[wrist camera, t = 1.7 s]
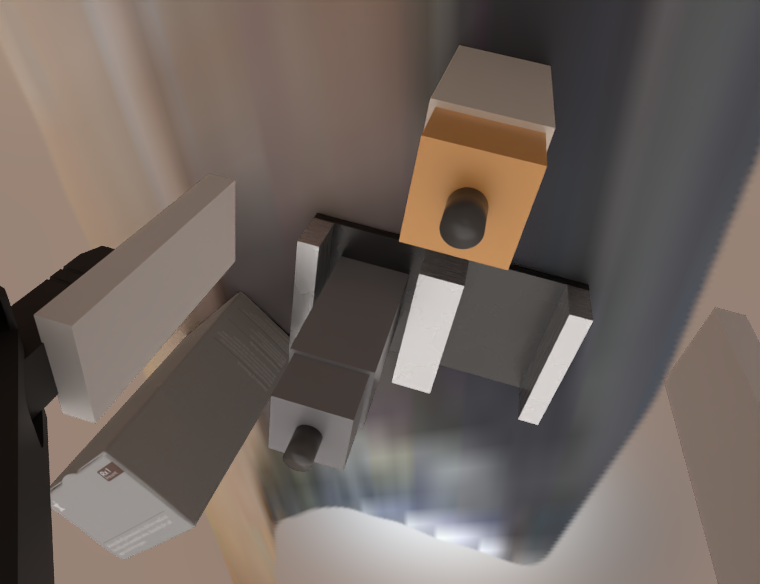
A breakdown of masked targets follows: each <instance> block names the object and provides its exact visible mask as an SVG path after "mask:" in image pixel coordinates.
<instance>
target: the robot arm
mask: <svg viewBox="0 0 760 584" xmlns="http://www.w3.org/2000/svg"><path fill="white" fill-rule="evenodd" d="M234 262H235V180H232V179H229V178H225V177H221V176H217V175H213V174H210V173H209V174H208V175H207V176H206V177H204V178H203V179H202V180H201V181H199V182H198V183H197V184H196V185H194V186H193V187H192V188H191V189H189V190H188V191H187V192H186V193H184V194H183V195H182V196H181V197H180V198H178V199H177V200H176V201H175V202H173V203H172V204H171V205H170V206H168V207H167V208H166V209H165V210H163V211H162V212H161V213H160V214H158V215H157V216H156V217H155V218H153V219H152V220H151V221H150V222H148V223H147V224H146V225H145V226H143V227H142V228H141V229H140V230H138V231H137V232H136V233H135V234H133V235H132V236H131V237H130V238H128V239H127V240H126V241H125V242H123V243H122V244H121V245H120V246H119V247H117V248H116V249H112V248H109V247H105V246H100V247H98V248H95V249H93V250H90V251H88V252H85V253H82V254H80V255H79V256H77V257H76V258H75V259H73V260H72V261H71V262H69V263H68V264H67V265H65V266H64V268H63V270H62V269H60V270H59V271H57V272H56V273H55V274H53V275H52V276H51V277H50V280H45V281H44V282H43V283H42V284H40V285H39V286H37V287H36V288H35V289H33V290H32V291H31V292H30V293H28V294H27V295H25V296H24V297H23V298H21V299H20V300H19V301H17V302H16V303H15V304H13V305H12V306H10V303H9V299H8V297H7V294H6V291H5V289H4V288H3V287H1V286H0V584H54V566H53V544H52V520H51V498H50V475H49V453H48V431H47V417H46V414H45V410H44V407H46V406H47V405H48V404H49V403H50V402H51V400H52V399H54V397H56V395H57V396H58V399H59V403H60V406H61V409H62V413H64V414H67V415H70V416H73V417H76V418H80V419H83V420H86V421H89V422H92V423H96V422H97V421H98V420H99V419H100V418H101V417H102V415H103V414H104V413H105V412H106V411H107V410H108V408H109V407H110V406H111V405H112V404H113V403H114V401H115V400H116V399H117V398H118V397H119V396H120V394H121V393H122V392H123V391H124V390H125V389H126V387H127V386H128V385H129V384H130V383H131V382H132V381H133V379H134V378H135V377H136V376H137V375H138V374H139V372H140V371H141V370H142V369H143V368H144V367H145V365H146V364H147V363H148V362H149V361H150V360H151V358H152V357H153V356H154V355H155V354H156V353H157V352H158V350H159V349H160V348H161V347H162V346H163V345H164V343H165V342H166V341H167V340H168V339H169V338H170V336H171V335H172V334H173V333H174V332H175V331H176V329H177V328H178V327H179V326H180V325H181V324H182V322H183V321H184V320H185V319H186V318H187V317H188V316H189V314H190V313H191V312H192V311H193V310H194V309H195V307H196V306H197V305H198V304H199V303H200V302H201V300H202V299H203V298H204V297H205V296H206V295H207V293H208V292H209V291H210V290H211V289H212V288H213V286H214V285H215V284H216V283H217V282H218V281H219V280H220V278H221V277H222V276H223V275H224V274H225V273H226V271H227V270H228V269H229V268H230V267H231V266H232V264H233V263H234ZM664 383H665V387H666V391H667V394H668V398H669V402H670V406H671V409H672V413H673V417H674V421H675V424H676V428H677V432H678V436H679V439H680V443H681V447H682V451H683V454H684V458H685V462H686V465H687V469H688V473H689V477H690V481H691V484H692V488H693V492H694V496H695V500H696V503H697V507H698V511H699V514H700V518H701V522H702V526H703V530H704V533H705V537H706V541H707V545H708V548H709V552H710V556H711V560H712V564H713V567H714V571H715V574H716V579H717V582H718V584H760V342H759V340H758V339H757V336H756V334H755V332H754V330H753V329H752V327H751V325H750V323H749V321H748V319H747V317H746V315H742V314H739V313H735V312H731V311H728V310H724V309H720V308H716V307H715V308H714V310H713V311H712V312H711V314H710V315H709V317H708V319H707V320H706V321H705V323H704V324H703V325H702V327H701V328H700V330H699V331H698V333H697V334H696V336H695V337H694V338H693V340H692V342H691V343H690V344H689V346H688V347H687V349H686V350H685V351H684V353H683V354H682V356H681V357H680V359H679V360H678V362H677V363H676V364H675V366H674V367H673V369H672V370H671V372H670V373H669V375H668V376H667V377H666V379H665V380H664Z"/></svg>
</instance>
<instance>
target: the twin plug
mask: <svg viewBox="0 0 760 584" xmlns="http://www.w3.org/2000/svg"><path fill="white" fill-rule="evenodd" d="M408 277H409V274H405V273H402V272H398V271H394V270H391V269H387V268H383V267H379V266H376V265H372V264H368V263H365V262H361V261H357V260H354V259H350V258H346V257H343V256H341V257H340V259H339V260H338V262H337V264H336V266H335V268H334V269H333V271H332V273H331V275H330V277H329V278H328V280H327V282H326V284H325V286H324V287H323V289H322V291H321V293H320V295H319V296H318V298H317V300H316V302H315V304H314V305H313V307H312V309H311V311H310V313H309V314H308V316H307V318H306V320H305V322H304V324H303V325H302V327H301V329H300V331H299V333H298V334H297V336H296V338H295V340H294V342H293V343H292V345H291V347H290V352H289V364H288V366H287V367H286V369H285V371H284V373H283V375H282V377H281V379H280V380H279V382H278V384H277V386H276V388H275V390H274V391H273V393H272V395H271V409H270V428H269V447H268V448H271V449H274V450H277V451H281V452H284V455H283V461H284V463H285V464H286V465H287V466H288V467H290V468H291V469H293V470H296V471H300V472H305V471H308V470H310V469H311V467H312V464H313V462H316V463H320V464H323V465H326V466H329V467H333V468H336V469H339V470H343V471H344V468H345V465H346V462H347V459H348V456H349V453H350V450H351V447H352V444H353V441H354V438H355V435H356V433H357V430H358V428H360V429H363V427H364V424H365V421H366V418H367V415H368V412H369V409H370V406H371V403H372V400H373V397H374V394H375V391H376V388H377V385H378V382H379V379H380V376H381V373H382V370H383V367H384V364H385V361H386V358H387V355H388V352H389V349H390V346H391V343H392V340H393V337H394V334H395V331H396V328H397V323H398V319H399V315H400V311H401V307H402V302H403V298H404V294H405V290H406V286H407V281H408Z"/></svg>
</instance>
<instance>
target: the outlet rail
mask: <svg viewBox="0 0 760 584" xmlns="http://www.w3.org/2000/svg"><path fill="white" fill-rule="evenodd" d="M399 238H400V235H398V234H394V233H390V232H386V231H382V230H379V229H375V228H371V227H367V226H364V225H360V224H356V223H352V222H348V221H345V220H341V219H337V218H333V217H329V216H326V215H322V214H318V213H317V214H316V216H315V217H314V218H313V220H312V221H311V223H310V224H309V225H308V227H307V228H306V230H305V231H304V233H303V234H302V235H301V237H300V238H299V240H298V241H297V253H296V266H295V279H294V292H293V305H292V318H291V331H290V344H289V352H290V347H291V345H292V343H293V342H294V340H295V338H296V336H297V334H298V333H299V331H300V329H301V327H302V325H303V324H304V322H305V320H306V318H307V316H308V314H309V313H310V311H311V309H312V307H313V305H314V304H315V302H316V300H317V298H318V296H319V295H320V293H321V291H322V289H323V287H324V286H325V284H326V282H327V280H328V278H329V277H330V275H331V273H332V271H333V269H334V268H335V266H336V264H337V262H338V260H339V259H340V257H341V256H343V257H346V258H350V259H354V260H357V261H361V262H365V263H368V264H372V265H376V266H379V267H383V268H387V269H391V270H394V271H398V272H402V273H405V274H409V277H408V281H407V286H406V290H405V294H404V298H403V302H402V307H401V311H400V315H399V319H398V323H397V328H396V331H395V334H394V337H393V340H392V343H391V346H390V349H389V351H393V352H396V353H399V356H398V360H397V364H396V368H395V372H394V376H393V380H392V383H395V384H398V385H402V386H405V387H409V388H412V389H416V390H419V391H423V392H426V393H429V394H430V391H431V388H432V385H433V382H434V379H435V376H436V373H437V370H438V367H439V365H442V366H446V367H449V368H453V369H456V370H460V371H463V372H467V373H470V374H474V375H477V376H481V377H484V378H488V379H491V380H495V381H498V382H502V383H506V384H509V385H513V386H516V387H519V409H518V419H519V420H523V421H526V422H530V423H533V424H536V425H538V424H539V422H540V420H541V418H542V416H543V414H544V413H545V411H546V409H547V407H548V405H549V403H550V401H551V399H552V397H553V396H554V394H555V392H556V390H557V388H558V386H559V384H560V382H561V381H562V379H563V377H564V375H565V373H566V371H567V369H568V367H569V366H570V364H571V362H572V360H573V358H574V356H575V354H576V352H577V351H578V349H579V347H580V345H581V343H582V341H583V339H584V337H585V335H586V334H587V332H588V330H589V328H590V326H591V324H592V322H593V315H592V308H591V300H590V293H589V285H587V284H583V283H579V282H576V281H572V280H568V279H564V278H560V277H557V276H553V275H549V274H545V273H541V272H538V271H534V270H530V269H526V268H523V267H519V266H515V265H511V264H510V266H509V269H508V270H504V269H501V268H497V267H493V266H489V265H485V264H482V263H478V262H474V261H470V260H467V259H463V258H459V257H455V256H452V255H448V254H444V253H440V252H436V251H433V250H429V249H425V248H421V247H418V246H414V245H410V244H406V243H403V242H399Z"/></svg>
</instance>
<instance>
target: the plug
mask: <svg viewBox="0 0 760 584" xmlns="http://www.w3.org/2000/svg"><path fill="white" fill-rule="evenodd" d="M554 131H555V116H554V103H553V90H552V77H551V66H549V65H544V64H540V63H536V62H531V61H527V60H523V59H518V58H514V57H509V56H505V55H501V54H496V53H492V52H488V51H483V50H479V49H475V48H470V47H466V46H461V45H459V46H458V48H457V50H456V52H455V54H454V56H453V57H452V59H451V61H450V63H449V65H448V67H447V68H446V70H445V72H444V74H443V76H442V78H441V80H440V81H439V83H438V85H437V87H436V89H435V91H434V92H433V94H432V96H431V98H430V102H429V107H428V111H427V116H426V121H425V125H424V130H423V133H422V135H421V140H420V144H419V149H418V154H417V158H416V163H415V168H414V172H413V177H412V182H411V186H410V191H409V196H408V201H407V205H406V210H405V215H404V219H403V224H402V229H401V233H400V238H399V242H403V243H406V244H410V245H414V246H418V247H421V248H425V249H429V250H433V251H436V252H440V253H444V254H448V255H452V256H455V257H459V258H463V259H467V260H470V261H474V262H478V263H482V264H485V265H489V266H493V267H497V268H501V269H504V270H508V269H509V266H510V264H511V261H512V258H513V256H514V253H515V250H516V248H517V245H518V242H519V240H520V237H521V234H522V232H523V229H524V226H525V224H526V221H527V218H528V216H529V213H530V210H531V208H532V205H533V202H534V200H535V197H536V194H537V192H538V189H539V186H540V184H541V181H542V178H543V176H544V173H545V170H546V168H547V150H548V147H549V144H550V141H551V139H552V136H553V133H554Z"/></svg>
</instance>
